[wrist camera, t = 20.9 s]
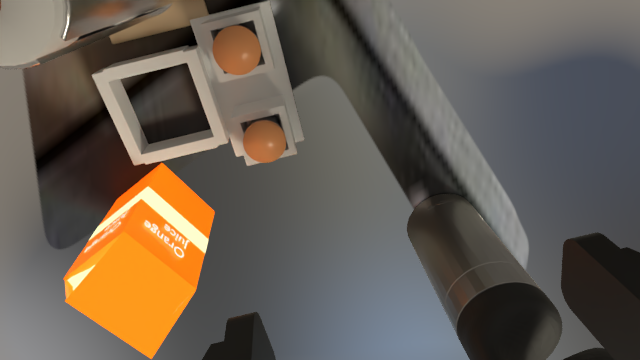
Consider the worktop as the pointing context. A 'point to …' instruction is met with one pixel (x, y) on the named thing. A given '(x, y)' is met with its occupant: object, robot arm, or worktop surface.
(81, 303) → the orange juice
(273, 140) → the plunger
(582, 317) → the robot arm
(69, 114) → the worktop surface
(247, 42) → the plunger
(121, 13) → the silver metal cylinder
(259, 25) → the housing
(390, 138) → the worktop surface
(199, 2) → the mat
